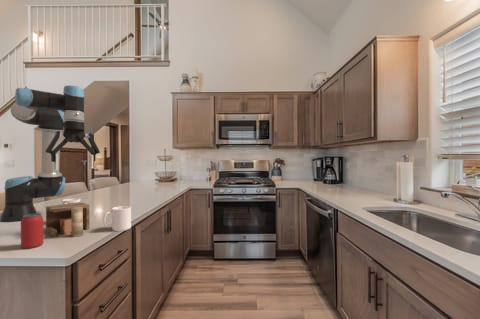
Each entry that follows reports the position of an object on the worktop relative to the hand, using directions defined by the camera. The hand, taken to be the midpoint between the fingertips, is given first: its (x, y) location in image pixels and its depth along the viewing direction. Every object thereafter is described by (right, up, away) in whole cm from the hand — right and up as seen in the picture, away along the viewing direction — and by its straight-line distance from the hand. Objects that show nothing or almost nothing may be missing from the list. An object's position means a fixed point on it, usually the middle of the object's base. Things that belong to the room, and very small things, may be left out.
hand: (74, 169), depth 109 cm
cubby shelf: (-6, -29, +5) cm, 30 cm away
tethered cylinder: (-1, -29, +1) cm, 29 cm away
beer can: (-6, -29, -15) cm, 33 cm away
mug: (-16, -29, +19) cm, 38 cm away
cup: (+16, -29, +7) cm, 34 cm away
